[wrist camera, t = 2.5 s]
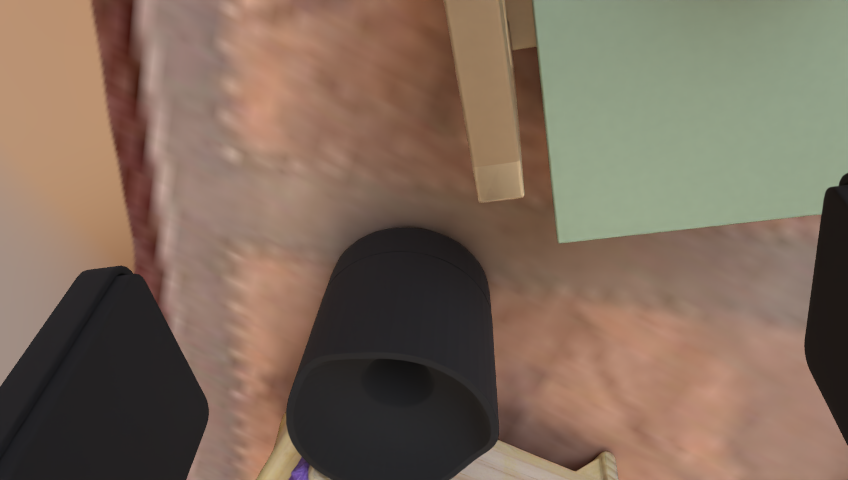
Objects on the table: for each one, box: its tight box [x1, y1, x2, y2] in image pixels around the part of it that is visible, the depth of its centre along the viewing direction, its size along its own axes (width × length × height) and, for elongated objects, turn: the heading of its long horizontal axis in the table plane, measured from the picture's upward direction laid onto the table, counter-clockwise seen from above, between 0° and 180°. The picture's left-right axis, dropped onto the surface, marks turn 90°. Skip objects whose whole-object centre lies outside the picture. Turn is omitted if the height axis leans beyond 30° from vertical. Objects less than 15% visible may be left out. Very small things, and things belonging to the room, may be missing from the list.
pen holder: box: [286, 228, 499, 480], centre depth 37 cm, size 9×9×10 cm
